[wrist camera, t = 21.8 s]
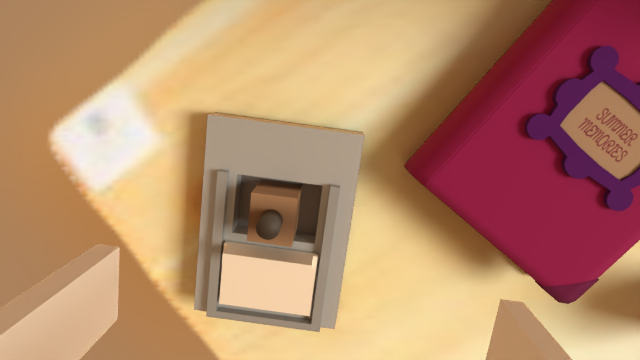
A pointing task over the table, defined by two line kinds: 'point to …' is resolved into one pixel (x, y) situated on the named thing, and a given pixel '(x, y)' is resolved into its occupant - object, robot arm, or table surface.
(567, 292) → the book
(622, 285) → the table surface
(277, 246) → the socket plate
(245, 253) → the shutter
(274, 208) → the plug
